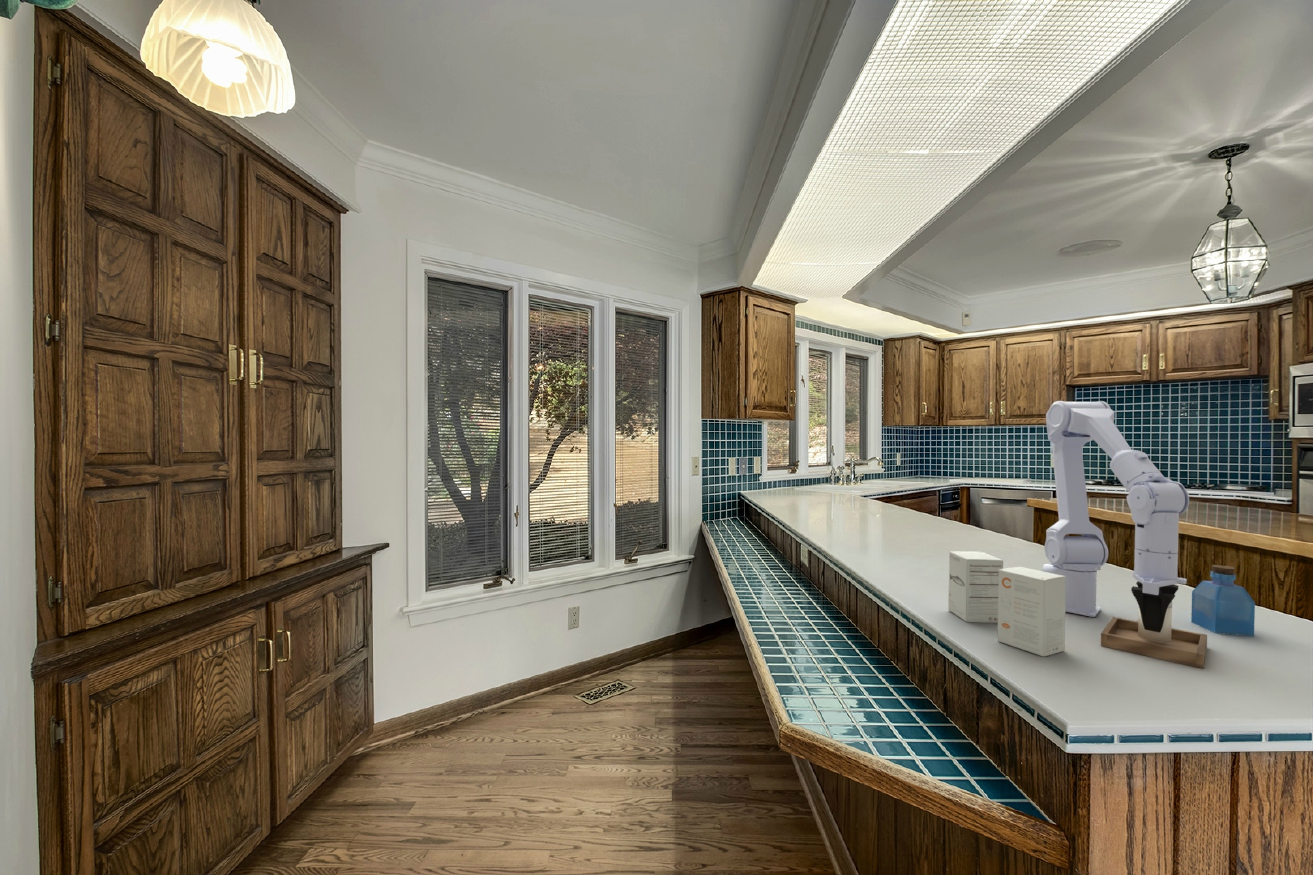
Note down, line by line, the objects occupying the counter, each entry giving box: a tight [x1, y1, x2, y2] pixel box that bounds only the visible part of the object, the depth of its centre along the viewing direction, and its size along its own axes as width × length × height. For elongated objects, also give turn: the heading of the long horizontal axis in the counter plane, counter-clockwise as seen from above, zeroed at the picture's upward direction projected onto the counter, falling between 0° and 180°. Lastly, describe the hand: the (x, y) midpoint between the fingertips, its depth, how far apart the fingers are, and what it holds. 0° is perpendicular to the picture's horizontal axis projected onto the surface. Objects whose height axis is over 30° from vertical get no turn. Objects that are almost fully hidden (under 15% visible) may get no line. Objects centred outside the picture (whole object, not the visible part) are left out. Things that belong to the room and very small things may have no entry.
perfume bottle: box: [1190, 564, 1256, 637], centre depth 110 cm, size 6×6×12 cm
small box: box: [997, 566, 1066, 657], centre depth 100 cm, size 8×6×13 cm
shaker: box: [1137, 600, 1173, 643], centre depth 100 cm, size 4×4×7 cm
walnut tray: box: [1100, 616, 1208, 669], centre depth 100 cm, size 13×13×2 cm
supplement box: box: [947, 550, 1004, 624], centre depth 115 cm, size 7×7×13 cm
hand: (1154, 627), depth 100 cm, fingers closed on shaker, 4 cm apart
